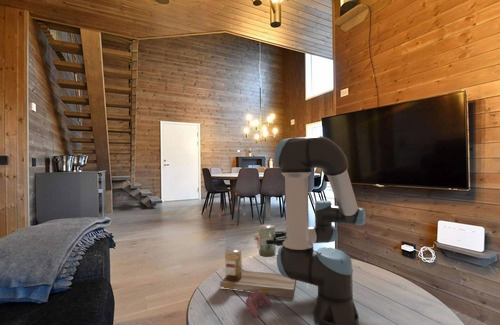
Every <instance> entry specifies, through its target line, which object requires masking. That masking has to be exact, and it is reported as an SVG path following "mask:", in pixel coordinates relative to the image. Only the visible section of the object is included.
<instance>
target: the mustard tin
mask: <svg viewBox="0 0 500 325" xmlns="http://www.w3.org/2000/svg"><path fill="white" fill-rule="evenodd" d="M224 258H225V260H224V261H225V277H226V279H227V280H229V281H237V280H240V279H241V278H242V271H243V269H242V268H243V267H242V249H241V248H239V247H238V248H237V247H231V248H230V247H229V248H226V249H225V251H224Z"/></svg>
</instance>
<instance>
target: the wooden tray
mask: <svg viewBox="0 0 500 325" xmlns="http://www.w3.org/2000/svg"><path fill="white" fill-rule="evenodd" d="M296 286H297V280H292V279H290V278H287V277H285V276H283V275H282V274H281V273H274V272H273V273H271V272H262V271H253V270H252V271H251V270H250V271H249V270H242V278H241V279H240V280H237V281H229V280H227V279H226V276H225V277H224V279H222V280H221V281H219V287H224V288H229V289H237V290H243V291H250V292H255V291H262V292H264V293H265V295H266V294H267V295H268V296H277V297H286V298H294V297H295V291H296ZM267 295H266V296H267Z"/></svg>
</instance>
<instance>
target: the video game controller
mask: <svg viewBox="0 0 500 325" xmlns="http://www.w3.org/2000/svg"><path fill="white" fill-rule="evenodd" d="M263 303H265V305H266V306H268V307H271V306H272V301H271V299H270V298H269V297H268V296H267V295H266V294H265V293H264V292H262V291H255V292H253V293H250V294H249V295H248V297H247V298H246V299H245V306H246V308H248V310H249V311H250V313H251V315H252V316H254V317H256V316H257V317H258V316H259V312H258V308H260V307H263Z"/></svg>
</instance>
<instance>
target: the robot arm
mask: <svg viewBox="0 0 500 325" xmlns="http://www.w3.org/2000/svg"><path fill="white" fill-rule="evenodd" d="M274 162H275V165H276V167H277V168H279V169H280V174H281V175H282V176H283V177H284V180H285V181H284V186H285V188H284V189H285V194H284V195H285V227H286V228H285V230H275V237H274V240H273V238H263V239H258V245H259V246H261V245H273V244H274V245H275V246H277V247H279V248H278V250H277V254H276V265H277V269H278V271H279V274H282V275H283V276H285V277H287V278H290V279H292V280H296V282H297V281H298V282H303V283H306V284H310V285H313V286H316V287H317V295H316V299H315V303H314V306H313V309H312V310H313V311H312V312H313V314H312V315H313V319H314V321H315V323H316V324H317V325H360V321H359V320H360V318H359V313H358V310H357V307H356V303H355V301H354V297H353V296H354V295H353V273H354V269H353V265H352V263H353V261H352V258H351V257H350V255H348V254H347V253H346V252H344V251H343V250H340V249H337V248H333V247H325V246H324V247H319V248H318V249H317V250H314V244H323V243H324V244H326V243H333V242H336V241H337V240H338V237H339V236H338V234H339V232H338V231H337V227H335V226H334V225H333V224H332V223H335V224H342V225H343V224H345V225H352V226H353V225H354V226H364V225H365V224H366V219H367V215H366V214H367V213H366V212H367V211H366V209H365V208H363V207H358V203H357V199H356V196H355V192H354V188H353V185H352V182H351V179H350V175H349V172H348V168H349V162H348V158H347V156H346V154H345V152H344V151H343V149H342V148H341V147H340V146H339V145H338V144H337V143H336V142H334V141H333V140H331V139H330V138H328V137H326V136H325V137H324V136H322V135H313V136H299V137H290V138H289V137H288V138H285V139H281V140H280V141H279V142H278V144H277V145H276V148H275V150H274ZM316 168H317V169H321V171H322V173H323V175H326V177H327V179H328V183H329V185H330V187H331V189H332V192H333V195H334V198H335V201H336V203H337V205H332V202H331V201H330V200H317V201H315V202H314V224H315V225H314V226H310V225H309V223H310V220H309V218H310V217H309V215H310V214H309V176H310V175H311V174H313V173H312V171H313V170H312V169H316ZM253 235H254V236H253V239H254V241H257V240H256V237H257V233H253Z"/></svg>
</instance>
